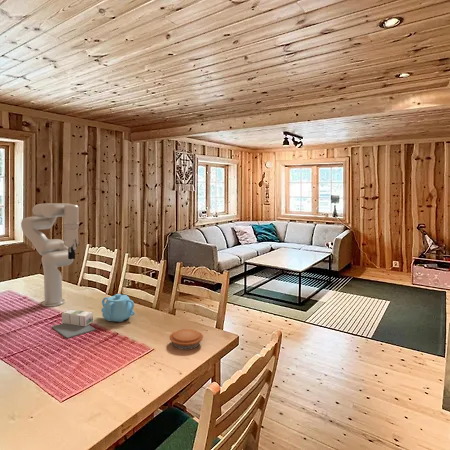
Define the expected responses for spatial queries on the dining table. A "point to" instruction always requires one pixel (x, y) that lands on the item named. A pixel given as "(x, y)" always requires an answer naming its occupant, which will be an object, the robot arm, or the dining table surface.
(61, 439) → the dining table surface
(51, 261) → the robot arm
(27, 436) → the dining table surface
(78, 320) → the syrup box
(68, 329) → the mat
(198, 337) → the pie
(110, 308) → the decorative pot
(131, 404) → the dining table surface
